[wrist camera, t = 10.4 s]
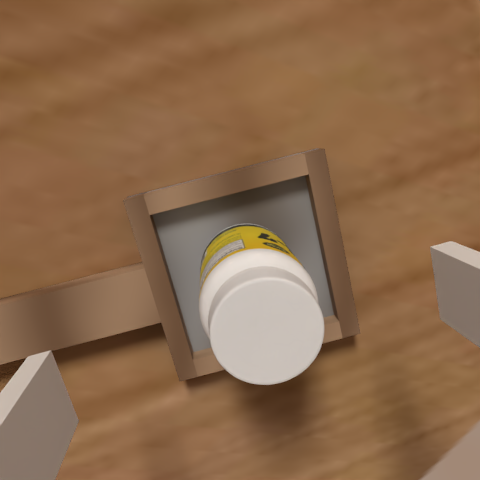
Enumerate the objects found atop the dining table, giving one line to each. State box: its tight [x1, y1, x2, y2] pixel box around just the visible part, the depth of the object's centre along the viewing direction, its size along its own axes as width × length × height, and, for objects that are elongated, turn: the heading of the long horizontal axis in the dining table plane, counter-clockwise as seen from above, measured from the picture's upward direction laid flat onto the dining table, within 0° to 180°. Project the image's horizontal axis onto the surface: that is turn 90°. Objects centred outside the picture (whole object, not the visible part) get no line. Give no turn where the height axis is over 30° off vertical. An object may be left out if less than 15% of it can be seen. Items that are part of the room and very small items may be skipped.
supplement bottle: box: [199, 224, 324, 385], centre depth 19 cm, size 5×5×8 cm
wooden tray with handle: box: [0, 149, 360, 381], centre depth 22 cm, size 26×10×3 cm, turn 104°
